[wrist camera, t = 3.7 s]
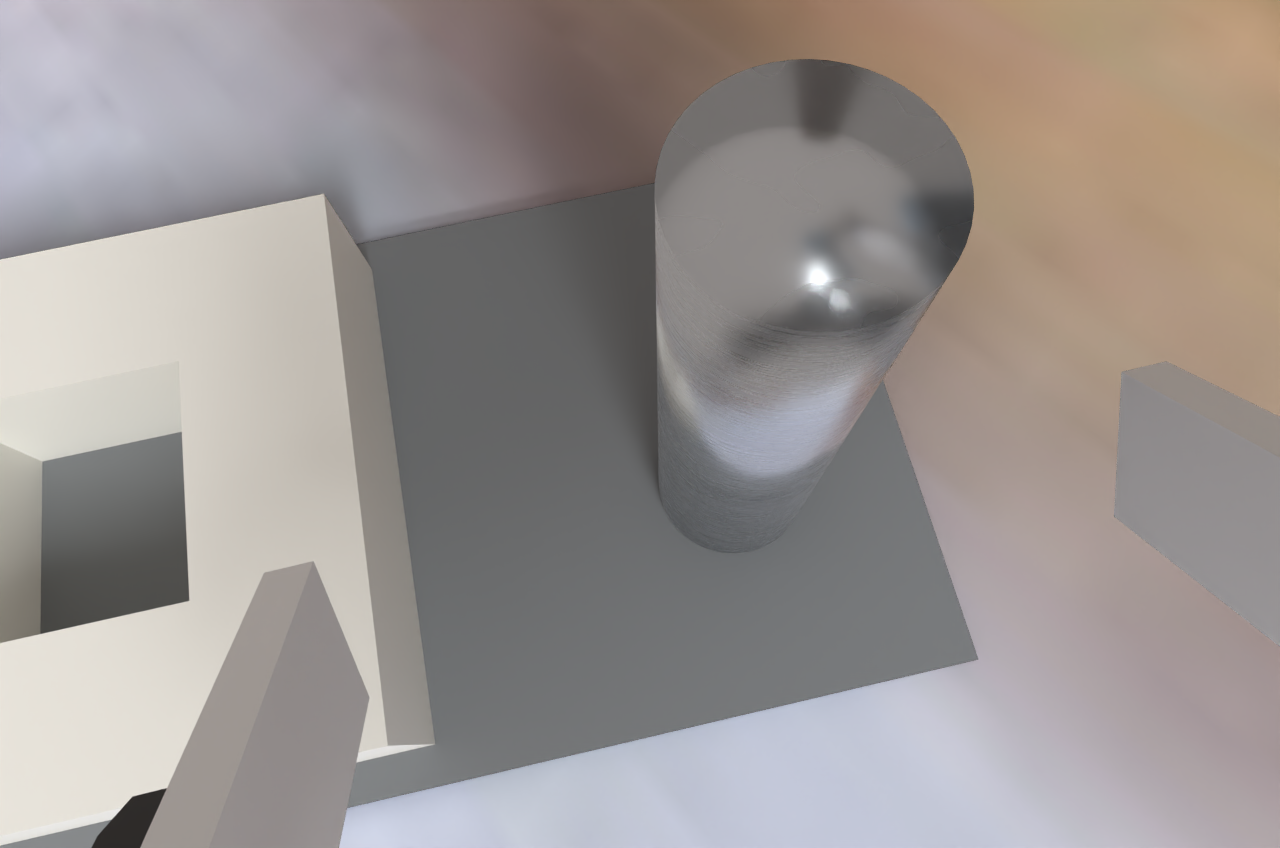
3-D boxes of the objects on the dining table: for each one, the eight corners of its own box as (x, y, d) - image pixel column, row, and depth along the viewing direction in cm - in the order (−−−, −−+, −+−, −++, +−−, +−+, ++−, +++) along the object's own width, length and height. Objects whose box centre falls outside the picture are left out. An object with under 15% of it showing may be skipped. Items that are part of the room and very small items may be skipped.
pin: (780, 400, 25) (913, 34, 12) (821, 535, 24) (1021, 292, 11) (644, 430, 25) (624, 91, 12) (677, 568, 24) (696, 363, 10)
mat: (802, 161, 28) (804, 151, 28) (971, 660, 23) (978, 659, 23) (-142, 356, 27) (-156, 350, 27) (-195, 935, 22) (-213, 939, 21)
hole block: (372, 269, 27) (324, 193, 23) (435, 744, 22) (387, 745, 18) (-91, 365, 26) (-218, 303, 23) (-126, 874, 22) (-294, 903, 18)
